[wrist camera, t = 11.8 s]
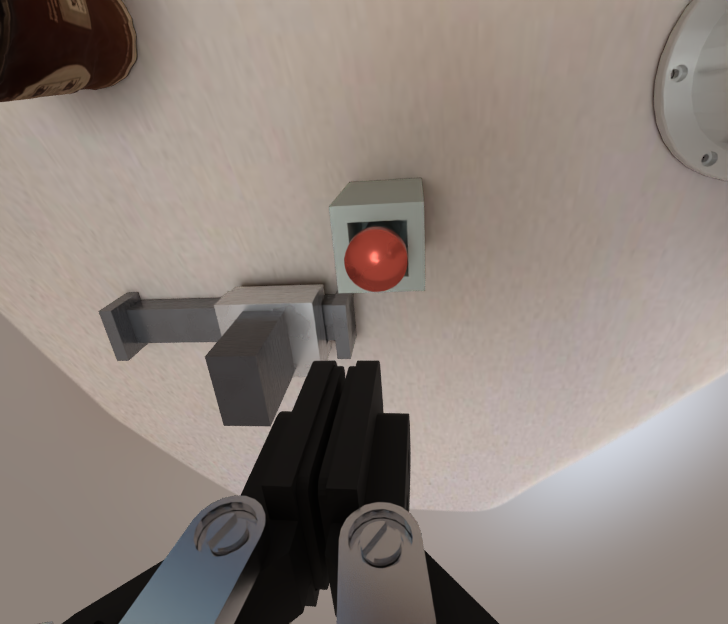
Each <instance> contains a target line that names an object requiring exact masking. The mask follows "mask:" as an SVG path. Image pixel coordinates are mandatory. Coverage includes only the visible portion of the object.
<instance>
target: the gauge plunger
mask: <svg viewBox="0 0 728 624" xmlns="http://www.w3.org/2000/svg"><path fill="white" fill-rule="evenodd" d="M400 234H401V223H400V220H392V221H371V222H368V223H367V226H366V228H365V229H363V230H361V231H360V232H358V233H357V234H356V235H355V236H354V237H353V238H352V240H351V241H350V243H349V245H348V247H347V250H346V252H345V257H344V265H345V270H346V272H347V275H348V276H349V278H350V279H351V280H352V282H353V283H354V284H356V285H357V286H358V287H360V288H362V289H364V290H367V291H372V292H382V291H386V290H389V289H391V288H393V287H394V286H396V285H397V284H398V283H399V282H400V281H401V280H402V278H403V277H404V275H405V273H406V269H407V258H408V254H407V248H406V246H405V243H404V242H403V240H402V239H401V237H400Z"/></svg>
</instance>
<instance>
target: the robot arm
mask: <svg viewBox="0 0 728 624" xmlns="http://www.w3.org/2000/svg"><path fill="white" fill-rule="evenodd" d="M672 70H674V71H675V75H674V77H673V78H672V79H671V72H672ZM654 109H655V116H656V123H657V126H658V129H659V131H660V134H661V136H662V139H663V141H664V143H665V144H666V146H667V147H668V148H669V150H670V151H671V153H672V154H673V156H675V157H676V158H677V159H678V160H679V161H680V162H682V163H683V164H684V165H685V166H686V167H688V168H690V169H692V170H694V171H696V172H698V173H700V174H702V175H705V176H709V177H712V178H716V179H719V180H726V181H728V0H692V1H691V2H690V4H689V5H688V6H687V7H686V9H685V10H684V12H683V13H682V15H681V17H680V19H679V20H678V22H677V24H676V25H675V27H674V29H673V30H672V32H671V34H670V36H669V39H668V41H667V43H666V46H665V48H664V51H663V53H662V56H661V58H660V62H659V66H658V71H657V75H656V79H655V89H654ZM703 156H704V159H703V160H702V161H701V159H702V158H703ZM409 499H410V421H409V414H400V413H383V399H382V385H381V370H380V362H379V361H357V363H356V366H350V367H349V368H348V372H347V375H346V379H345V370H344V367H343V366H337V363H336V361H313V363H312V365H311V367H310V369H309V372H308V374H307V377H306V379H305V381H304V384H303V386H302V389H301V391H300V393H299V396H298V398H297V401H296V403H295V405H294V408H293V410H292V412H290V411H281V412H280V413H279V414H278V416H277V417H276V419H275V421H274V424H273V426H272V428H271V430H270V432H269V435H268V437H267V439H266V441H265V443H264V445H263V448H262V450H261V452H260V454H259V456H258V459H257V461H256V463H255V465H254V467H253V469H252V472H251V474H250V476H249V478H248V480H247V483H246V485H245V487H244V489H243V491H242V493H241V496H237V495H235V496H230V497H225V498H222V499H220V500H217V501H215V502H213V503H211V504H210V505H208V506H207V507H206V508H205V509H203V510H202V511H201V512H200V513H199V514H198V515H197V516H196V517H195V518H194V519H193V520H192V522H191V523H190V525H189V526H188V527H187V529H186V530H185V532H184V533H183V534H182V536H181V537H180V539H179V540H178V541H177V543H176V544H175V546H174V547H173V548H172V550H171V551H170V553H169V554H168V555H167V557H166V558H165V559H164V560H163V561H161V562H159V563H158V564H157V565H155V566H153V567H151V568H150V569H148V570H146V571H145V572H143V573H141V574H140V575H138V576H137V577H135V578H133V579H132V580H130V581H128V582H127V583H125V584H123V585H122V586H120V587H119V588H117V589H116V590H114V591H112V592H110V593H109V594H107V595H105V596H104V597H102V598H100V599H99V600H97V601H95V602H94V603H92V604H91V605H89V606H87V607H86V608H84V609H82V610H81V611H79V612H77V613H76V614H74V615H73V616H72V617H70V618H69V619H68V620H66V621H65V622H63V623H62V624H291V622H292V621H293V620H294V619H296V618H297V617H298V616H299V615H301V614H302V613H303V611H304V607H305V606H314V607H315V606H316V604H317V600H318V595H319V590H320V589H322V590H327V589H328V586H329V582H330V588H331V594H332V599H333V605H334V610H335V615H336V617H337V624H499V623H498V622H497V621H496V620H495V619H494V618H493V617H492V616H491V615H490V614H489V613H488V612H487V611H486V610H485V609H484V608H483V607H482V606H481V605H480V604H479V603H477V602H476V600H475V599H473V597H471V596H470V595H469V594H468V593H467V592H466V591H465V590H464V589H463V588H462V587H461V586H460V585H459V584H458V583H457V582H456V581H455V580H454V579H453V578H452V577H451V576H450V575H449V574H448V573H447V572H446V571H445V570H444V569H443V568H442V567H441V566H440V565H439V564H438V563H437V562H436V561H435V560H434V559H433V558H432V557H431V556H430V555H429V554H428V553H427V552H426V551H425V550H424V546H423V540H422V534H421V531H420V528H419V525H418V522H417V521H416V520H415V518H414V517H413V516H412V515H411V513H409ZM39 624H53V622H52V621H51V622H45V623H39Z"/></svg>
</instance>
